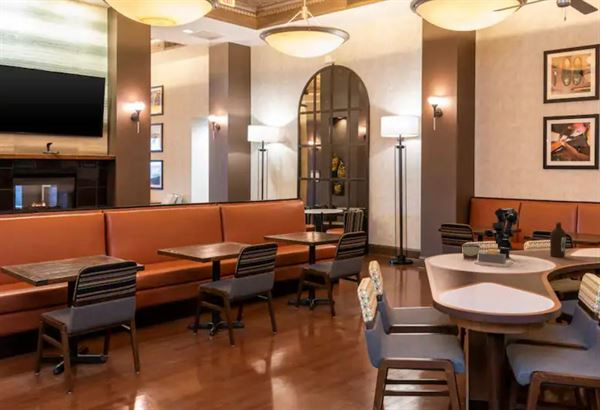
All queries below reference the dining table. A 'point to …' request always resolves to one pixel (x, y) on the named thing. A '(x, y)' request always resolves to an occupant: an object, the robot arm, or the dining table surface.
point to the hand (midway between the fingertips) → (496, 243)
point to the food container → (470, 251)
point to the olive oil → (557, 241)
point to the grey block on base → (493, 259)
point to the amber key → (492, 251)
